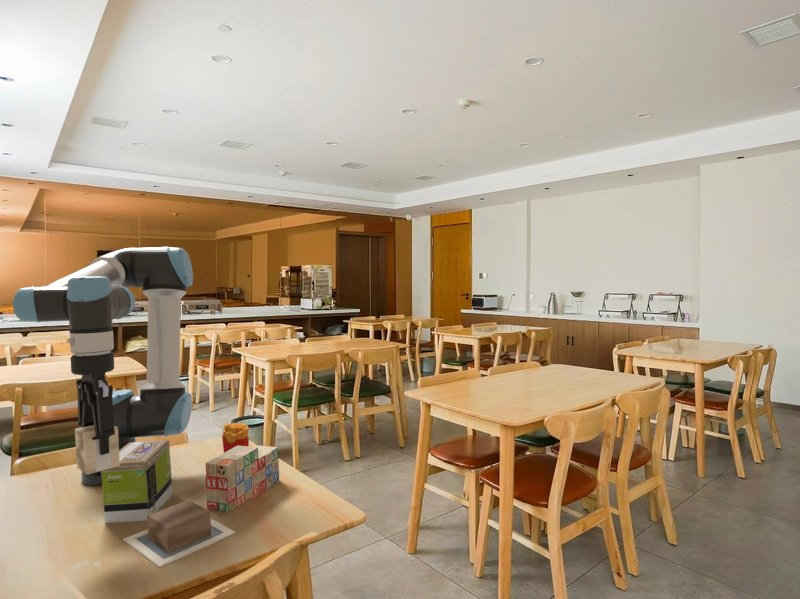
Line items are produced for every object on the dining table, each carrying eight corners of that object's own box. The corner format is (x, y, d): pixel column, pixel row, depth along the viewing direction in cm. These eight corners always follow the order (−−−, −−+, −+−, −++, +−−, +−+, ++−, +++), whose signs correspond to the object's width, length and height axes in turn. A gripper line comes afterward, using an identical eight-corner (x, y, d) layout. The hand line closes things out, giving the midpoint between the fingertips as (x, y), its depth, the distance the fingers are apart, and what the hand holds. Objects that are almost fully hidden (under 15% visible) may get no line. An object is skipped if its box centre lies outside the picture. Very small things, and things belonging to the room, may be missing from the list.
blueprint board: (123, 544, 106) (123, 538, 106) (196, 515, 118) (196, 510, 118) (159, 572, 96) (159, 566, 96) (235, 537, 108) (235, 531, 108)
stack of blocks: (259, 478, 140) (258, 434, 139) (279, 480, 138) (278, 436, 137) (206, 513, 120) (204, 461, 119) (229, 517, 118) (227, 464, 117)
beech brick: (76, 467, 104) (74, 428, 104) (108, 459, 109) (107, 422, 108) (86, 474, 100) (84, 434, 100) (119, 465, 105) (117, 427, 104)
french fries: (220, 468, 147) (218, 424, 146) (231, 463, 151) (230, 420, 150) (242, 474, 142) (241, 428, 142) (254, 469, 146) (252, 424, 145)
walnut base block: (148, 538, 106) (147, 515, 106) (189, 521, 113) (188, 499, 113) (168, 553, 101) (167, 528, 100) (211, 534, 107) (210, 511, 107)
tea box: (132, 498, 128) (129, 440, 127) (173, 496, 129) (171, 438, 128) (103, 528, 113) (99, 462, 112) (150, 525, 114) (147, 460, 113)
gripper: (56, 351, 107) (62, 460, 108) (87, 359, 94) (93, 483, 95) (96, 347, 112) (101, 450, 113) (130, 354, 100) (135, 471, 101)
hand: (97, 465), depth 104 cm, fingers closed on beech brick, 6 cm apart
